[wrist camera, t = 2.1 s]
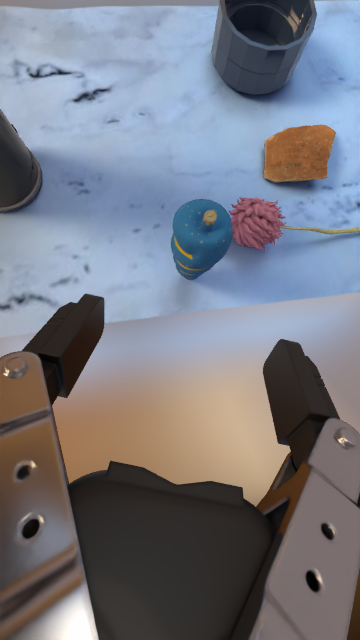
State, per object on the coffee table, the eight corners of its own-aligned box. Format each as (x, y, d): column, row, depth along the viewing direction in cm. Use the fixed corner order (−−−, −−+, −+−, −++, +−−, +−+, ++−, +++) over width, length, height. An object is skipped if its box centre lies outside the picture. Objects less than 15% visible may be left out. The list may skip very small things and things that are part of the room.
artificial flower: (364, 210, 37) (215, 208, 32) (418, 187, 30) (240, 181, 25) (366, 253, 38) (218, 259, 32) (419, 240, 31) (244, 246, 25)
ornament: (162, 262, 31) (162, 186, 16) (199, 250, 32) (230, 167, 17) (175, 299, 31) (187, 255, 16) (212, 286, 31) (256, 233, 17)
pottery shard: (330, 132, 35) (342, 116, 33) (334, 190, 34) (347, 178, 32) (261, 127, 35) (268, 110, 32) (263, 186, 33) (271, 173, 31)
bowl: (217, 102, 34) (228, 51, 29) (205, 29, 36) (213, -34, 30) (297, 97, 35) (324, 47, 29) (283, 27, 37) (306, -35, 31)
